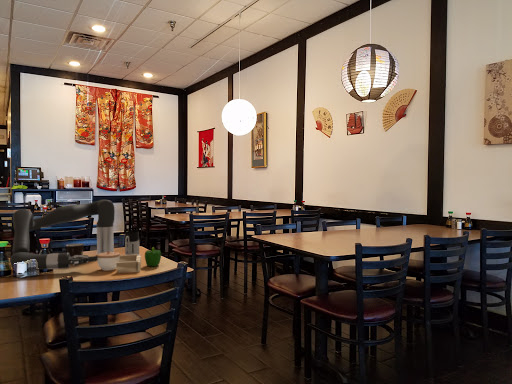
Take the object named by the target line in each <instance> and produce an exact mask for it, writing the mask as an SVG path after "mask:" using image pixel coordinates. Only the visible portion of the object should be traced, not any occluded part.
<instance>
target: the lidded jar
mask: <svg viewBox="0 0 512 384" xmlns="http://www.w3.org/2000/svg"><path fill="white" fill-rule="evenodd" d="M96 254H97V253H96ZM120 255H121V254H120V252H117V251H116V252H110V251H107V252H105V253H99V254H97V255H96V256H97V261H96V262H97V266H98V267H99V268H100V269H101V270H102V271H114V270H115V269H116V263H117V262H119V259H120Z"/></svg>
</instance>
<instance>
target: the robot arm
mask: <svg viewBox="0 0 512 384" xmlns="http://www.w3.org/2000/svg"><path fill="white" fill-rule="evenodd" d="M115 212H116V210H115V204H114V203H113V201H111V200H109V199H100V200H97V201H93V202H89V203H83V204H80V203H79V204H72V205H71V204H70V205H69V204H68V205H63V206H59V207H56V208H55V209H52V210H51V211H50V212H48V213H47V214H45V215H43V216H41V217H36V218H34V214H33V213H32V211H31V210H29V209H27V208H20V209H17V210H16V211H15V212H14V213H12V223H13V224H12V225H13V230H14V233H13V234H14V235H13V243H12V249H11V250H12V255H11V256H10V258H9V262H10V266H11V269H12V270H13V264H14V263H17V262H22V261H27V260H30V259H36V260H37V262H38V268H39V269H38V270H60V269H61V270H62V269H63V270H64V269H69V268H70V267H71V265H73V266H78V265H82V264H88V263H89V262H97V255H93V256H92V255H91V256H89V255H88V254H87V255H86V254H83V255H79V256H78V255H74V256H72V257H71V256H70V253H67V252H53V253H47V254H46V253H45V254H37V253H33V252H30V248H31V247H30V246H31V245H30V243H31V241H30V240H31V239H30V232H31V231H34V230H37V229H41V228H45V227H48V226H53V225H58V224H59V225H60V224H64V223H70V222H73V221H78V220H80V219H84V218H86V217H89V216H97V217H98V219H97V222H96V254H99V253H105V252H107V251H110V252H114V251H115V250H114V249H115V248H114V247H115V245H114V223H115Z"/></svg>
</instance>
